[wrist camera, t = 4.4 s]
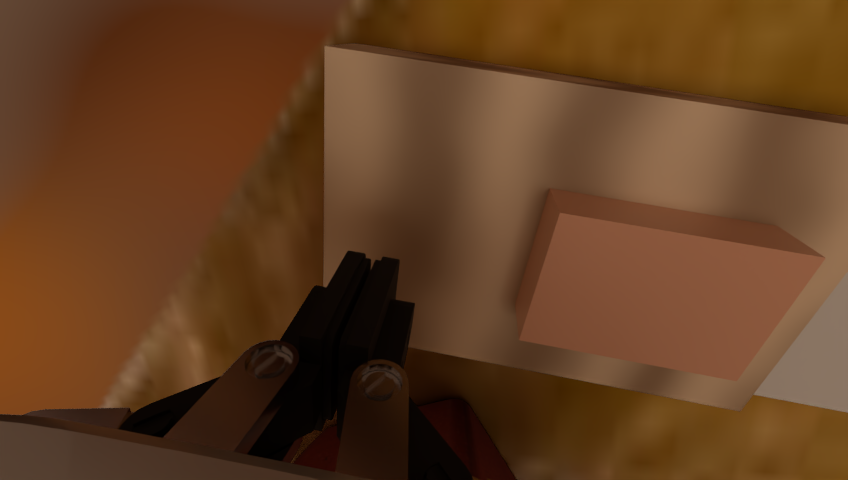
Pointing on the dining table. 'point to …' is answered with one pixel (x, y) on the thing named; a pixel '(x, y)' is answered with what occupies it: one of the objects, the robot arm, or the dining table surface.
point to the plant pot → (451, 424)
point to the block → (658, 283)
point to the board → (564, 170)
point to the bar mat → (816, 359)
